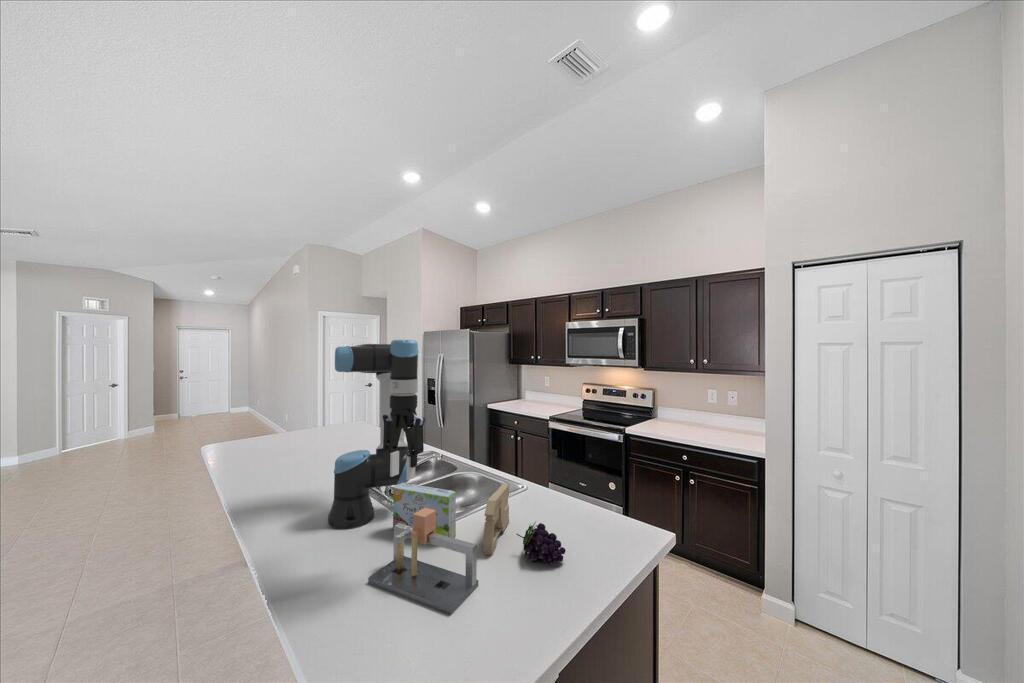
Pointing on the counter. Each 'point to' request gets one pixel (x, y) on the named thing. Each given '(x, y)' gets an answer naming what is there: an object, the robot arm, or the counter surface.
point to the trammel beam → (442, 541)
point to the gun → (495, 518)
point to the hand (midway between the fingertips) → (402, 476)
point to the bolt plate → (424, 585)
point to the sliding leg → (421, 532)
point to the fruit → (542, 545)
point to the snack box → (425, 506)
